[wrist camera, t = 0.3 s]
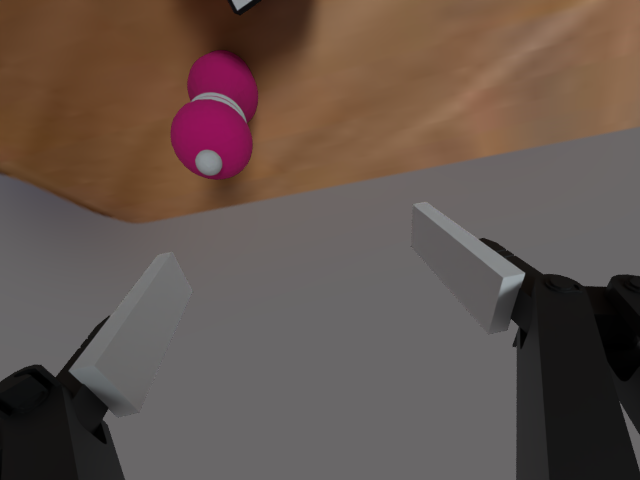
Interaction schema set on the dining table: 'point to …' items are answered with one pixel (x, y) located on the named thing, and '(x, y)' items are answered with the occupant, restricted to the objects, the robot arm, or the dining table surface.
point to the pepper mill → (216, 117)
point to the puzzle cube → (242, 5)
